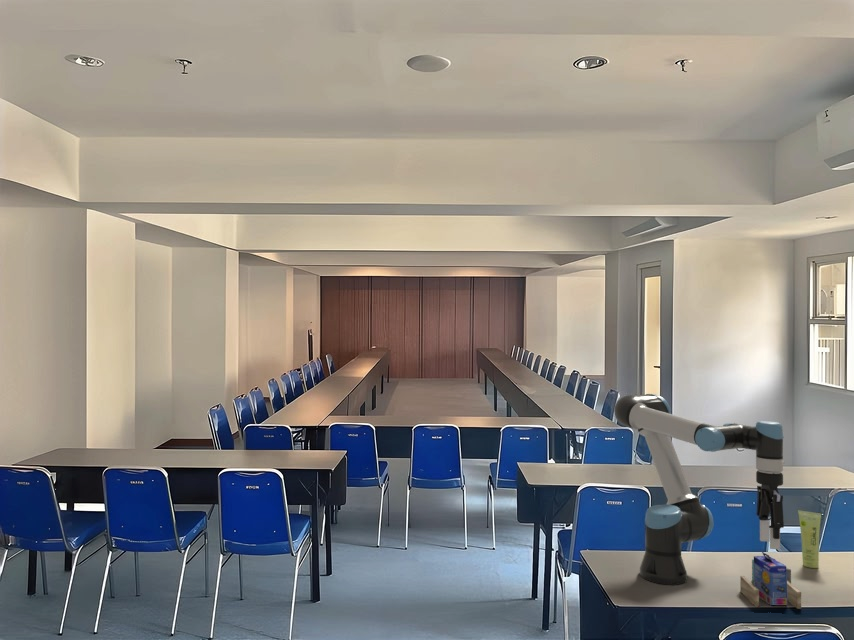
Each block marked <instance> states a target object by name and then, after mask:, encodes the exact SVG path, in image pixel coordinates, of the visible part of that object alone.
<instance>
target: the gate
mask: <svg viewBox="0 0 854 640" xmlns="http://www.w3.org/2000/svg"><path fill="white" fill-rule="evenodd" d="M786 568H787V567H786ZM751 581H753V582H754V558H752V559H751ZM787 581H788V582H790V583H791V584H792V569H791V568H787Z"/></svg>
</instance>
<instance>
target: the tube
mask: <svg viewBox="0 0 854 640" xmlns="http://www.w3.org/2000/svg"><path fill="white" fill-rule="evenodd" d="M797 514H798V519H799V520H798V521H799V528H800V539H801V553H802V555H801V557H802V558H801V559H802V566H804V567H805V568H810V569H818V568H819V567H820V565H819V561H820V559H819V557H820V556H819V554H820V552H819V551H820V547H819V546H820V531H821V530H820V529H821V522H822V521H821V520H822V513H818V512H812V511H806V510H805V511H804V510H799V509H798V510H797Z"/></svg>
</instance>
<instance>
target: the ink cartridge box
mask: <svg viewBox="0 0 854 640" xmlns="http://www.w3.org/2000/svg"><path fill="white" fill-rule="evenodd" d="M761 553H762V555H754V556H753V559H754V581H753V585H754V586H755V587H756V588H758V589H759V599H761V600H762V601H764V602H765V603H767V604H768V603H769V604H770V605H769V604H768V605H769V606H771V605H789V604H788V603H789V601H788V597H787V565H786V564H784V563H782V562H780V561H778V560H776V559H775V558H774V557H771V556H770V555H769V554H767V553H765V552H764V551H761Z"/></svg>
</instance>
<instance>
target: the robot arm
mask: <svg viewBox="0 0 854 640" xmlns="http://www.w3.org/2000/svg"><path fill="white" fill-rule="evenodd" d="M671 411H672V410H671V406H670V405H669V402H668V401H667V400H666V399H665V398H664V397H662V396H660V395H658V394H654V393H647V394H634V395H633V394H628V395H624V396H622V397H621V398H619V399H618V400H617V402H616V403H615V404H614V409H613V412H614V417H615V419H616V421H617V422H619V424H620V425H622V426H624V427H627V428H631V429H634V430H637V432H638V434H639V435H640V436H643V437H644V438H645V442H646V444H647V447H648V449H649V453H650V455H651V458H652V460H653V463H654V466H655V469H656V472H657V474H658V476H659V479H660V482H661V485H662V488H663V490H664V493H665V496H666V499H667V502H666V503H664V504H654V505H652V506H649V507H648V508H647V509H646V510H645V518H644V526H645V527H644V529H645V530H644V533H645V534H644V539H645V540H644V542H645V543H644V545H645V547H644V550H645V551H644V554H643V558H642V560H641V563H640V566H639V575H640V576H641V578H643V579H644V580H647V581H650V582H652V583H656V584H660V585H671V586H672V585H673V586H674V585H681V584H684V583H686V582H687V581H688V574H687V570H686V566H685V564H684V559H683V557H682V544H683V543H688V542H692V541H699V540H703V539H704V538H707V537H708V536H710V534H711V533H712V530H713V528H714V522H715V521H714V517H713V514H712V512H711V510H710V509H709V507H706V506H705V504H701V502H700V499H699V496H697V495H695V494H693V493H692V491H691V488H690V485H689V482H688V480H687V478H686V477H687V476H685V472H684V470H683V467H682V465H681V462H680V460H679V457H678V454H677V451H676V449H675V447H674V444H673V441H672V439H673V438H674V439H677V440H680V441H683V442H685V443H690V444H693V445H696V446H697V447H699V449H700V450H702V451H703V452H712V453H713V452H715V453H716V452H719V451H720V452H721V451H725V450H734V449H745V450H752V451H755V454H756V455H755V469H756V470H757V471H755V472H756V473H755V479H756V481H755V482H756V483H757V484H759V485H756V486H757V487H756V490H757V497H756V498H757V500H756V514H755V515H756V516H757V517H758V519H759V541H760V542H769V549H770V550H781V529H783V528H784V526H785V525H784V524H785V523H784V509H783V504H784V503H783V501H784V500H783V499H784V496H783V494H779V488H778V487H779V486H783V485H784V474H783V471H784V464H785V461H784V455H783V454H784V452H783V450H784V433H783V432H784V430H783V424H781V423H780V422H778V421H769V420H760V421H756V423H755V425H754V426H753V425H752V426H751V425H746V424H745V425H743V424H739V423H735V422H734V423H730V422H729V423H724V424H723V425H721V426H716V425H713V424H708V423H705V422H701V421H697V420H694V419H691V418H687V417H683V416H679V415H676V414H672V412H671Z"/></svg>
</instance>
